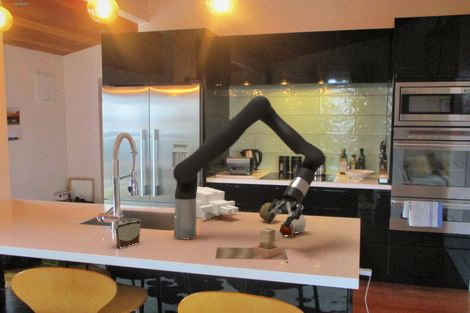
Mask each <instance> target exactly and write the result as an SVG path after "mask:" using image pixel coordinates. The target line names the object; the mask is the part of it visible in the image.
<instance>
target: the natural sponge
mask: <svg viewBox="0 0 470 313" xmlns="http://www.w3.org/2000/svg"><path fill="white" fill-rule="evenodd" d="M271 203H272V202H266V203H264V204H263V205H262V206H261V207H260V209H259V217H260V218H261V219H263V221H264V222H266V221H267V217H268V216H269V214H270V213H269V212H268V210H267V209H268V208H269V206H270V205H271ZM271 210H272V209H271ZM275 212H276V211H275ZM275 212H274V213H275ZM276 217H277V215H276V216H274V219H275V218H276Z"/></svg>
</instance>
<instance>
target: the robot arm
mask: <svg viewBox="0 0 470 313" xmlns="http://www.w3.org/2000/svg"><path fill="white" fill-rule="evenodd" d="M258 121H261V122H262V123H264V124H265V125H266V126H267V127H268V128H270V129H271V130H272V132H274V133H275V134H276V136H277V137H278V138H279V139H280V140H281V141H282V142H283V143H284V144H285V145H286V146H287V147H288V148H289V149H290V151H291V152H293V153H294V155H297V156H299V155H302V156H303V157H304V158H303V160H302V162H301V165H300V167H299V169H298V170H297V172H296V174H295V175H294V177H293V179H292V180H291V181H290V182H289V183H288V185H287V188H286V189H285V191H284V192H283V193H282V196H281V197H282V198H281V200H277V198H274V199H273V201H272V202H270V203H271V205H270V206H269V208H268V209H267V210H268V212H269V213H270V214H269V216H268V217H267V224H268V225H270V224H272V222H273V220H274V219H275V218H274V216H276V217H277V215H281V214H287V215H288V216H289V217H286V218H287V219H286V218H285V221H284V222H285V223H284V226H285V228H288V227H289V226H290V224H291V223H292V221H293V220H294V219H296V220H298V219H299V218H300V216H301V215H303V214H302V213H303V212H304V211H305V207H304V205H303V204H302V201H303V199H304V198H305V196H306V195H307V193H308V190H309V188H310V187H311V184H312V183H313V180H314V179H315V174H316V173H317V171H318V169H320V168H321V167H322V166H323V165H324V164H325V163H326V156H325V153H324V152H323V151H322V150H321V149H320V148H318V146H315V145H314V144H312V143H310V142H308V141H307V140H306V139H305V138H304V137H303V136H302V135H301V134H300V133H299V132H298V131H297V130H295V128H294V127H292V126H290V124H288V123H287V122H286V121H285V120H284V119H283V118H281V116H280V115H279V114H278V112H276V110H275V109H274V108H273V106H272V104H271V102H270V101H269V98H267V97H266V96H263V95H257V96H255V97H253V98H251V99H250V100H249V101H248V103H247V104H246V105H245V106H244V107H243V108H242V109H241V110H240V111H239V112H238V113H236V115H235V116H234V117H232V118H231V119H229V120H228V121H227V122H226V123H224V124H222V126H220V127H219V128H218V129H217V130H216V131H214V132H212V134H211V135H210V136H209V137H208V138H207V139H206V140H204V142H203V143H202V144H201V145H200V146H199V147H198V148H197V149H196V150H195V151H193V153H191V154H190V155H189V156H187V157H186V158H185V159H183V160H182V161H180V162H178V163H177V164H176V165H175V167H174V169H173V178H174V180H175V181H176V186H175V190H174V191H175V192H174V216H173V238H174V237H176V238H175V239H177V238H183V239H182V240H187V239H186V238H193V237H195V236H196V237H197V217H196V193H197V187H198V179H199V178H198V173H199V172H200V171H202V169H203V168H204V167H205V166H207V165H208V164H210V163H211V162H212V161H214V160H216V159H217V158H219V157H220V156H221V155H224V153H226V152H227V151H228V150H230V148H232V147H233V146H234V145H235V144H236V143H237V142H238V140H239V139H240V138H241V137H242V136H243V134H244V133H245V132H246V131H247V130H248V129H249V128H250V127H251V126H252V125H254V124H255V123H257V122H258ZM271 209H272V210H271ZM275 211H276V212H275ZM274 212H275V213H274ZM297 214H298V215H297ZM196 237H195V238H196ZM184 238H185V239H184ZM193 239H194V238H193Z"/></svg>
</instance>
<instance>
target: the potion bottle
mask: <svg viewBox="0 0 470 313" xmlns="http://www.w3.org/2000/svg"><path fill="white" fill-rule="evenodd" d="M297 215H298V214H297ZM287 217H289V215H287ZM287 217H286V218H285V220H286V219H287ZM284 223H285V221H283V222H282V224H280V227H279V231H278V232H279V233H280V234H281V235H282V236H284V235H288V237H290V236H292V235H294V234H293V233H295V232H300V233H302V232H304V231H305V229H306V226H307V220H306V218H305V217H304V215H303V214H301V216H300V218H299V219H298V220H296V219H294V220H293V221H292V223H291V224H290V226H289V227H288V228H285V226H284ZM289 235H290V236H289Z"/></svg>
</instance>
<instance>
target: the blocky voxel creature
mask: <svg viewBox="0 0 470 313" xmlns="http://www.w3.org/2000/svg"><path fill="white" fill-rule="evenodd" d="M225 192H226V191H223V190H219V189H215V188H212V187H209V186H204V187H203V186H197V193H196V218H197V219H198V218H199V219H201V218H209V217H214V216H218V215H223V216H224V214H226V215H231V214H235V213H239V207H237V206H235V205H236V201H235V200H229V201H228V200H226V199H225ZM214 218H215V217H214Z"/></svg>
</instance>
